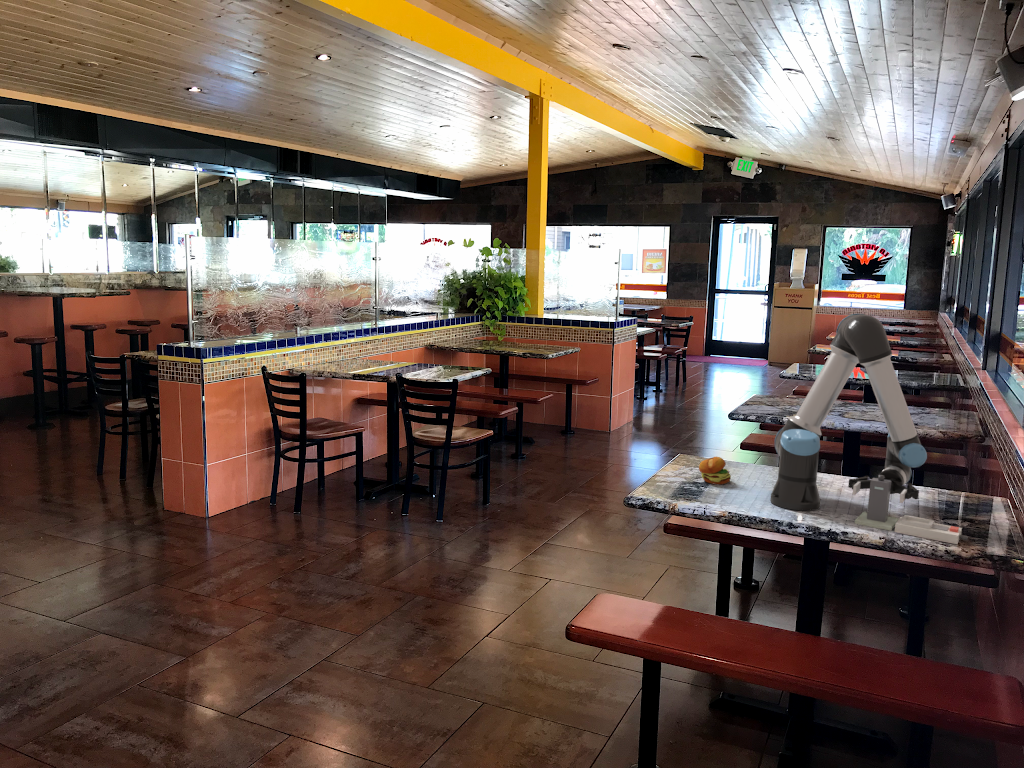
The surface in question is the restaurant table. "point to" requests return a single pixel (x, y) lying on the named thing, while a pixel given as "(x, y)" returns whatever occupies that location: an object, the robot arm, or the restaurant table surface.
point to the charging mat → (876, 522)
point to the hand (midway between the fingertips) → (877, 494)
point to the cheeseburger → (714, 471)
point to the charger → (879, 499)
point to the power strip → (928, 529)
